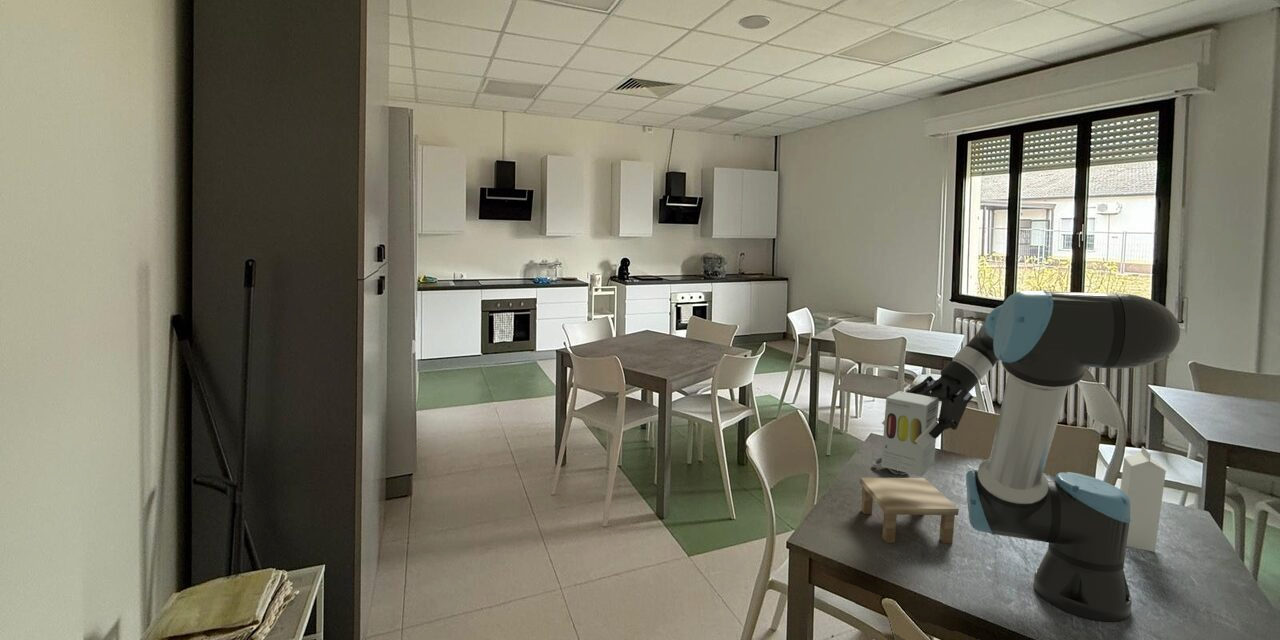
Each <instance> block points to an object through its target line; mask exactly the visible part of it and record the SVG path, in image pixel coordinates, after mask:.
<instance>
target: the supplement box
mask: <svg viewBox="0 0 1280 640" xmlns="http://www.w3.org/2000/svg"><path fill="white" fill-rule="evenodd" d="M885 400H886V401H885V411H884V420H885V422H884V425H883V435H882V436H883V438H882V449H881V457H882V461H881V463H880V464H881V466H883V467H887V468H886V469H888V468H890V469H894V470H898V471H902V472H906V473H907V474H910V475H914V476H918V477H923V476H924V475H925V474H926V473H927V472H928V471H930V470H931V469H932V468H933V467H934V466H935V456H936V455H935V454H936V453H935V452H936V442H937V438H935V439H934V440H933V441H932V442H931V443H930V444H929V445H928V446H927V447H926V448H925V449H924V450H923V449H921V448H920V446H919V445H918V444H917V443H916V442H915V440H916V439H917V438H918V437H919V436H920V435H921V434H922V433H923V432H924V430H925V429H926V428H927V427H928V426H929V425H930V424H931V423H932V422H933V421H934V420H935V421H937V418H939V406H940V405H939V403H940V401H939V398H937V397H930V396H924V395H919V394H913V393H907V391H902V390H899V391H896V392H894V393H892V394H890V395H889V396H887V397H886V399H885ZM937 422H938V421H937Z"/></svg>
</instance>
